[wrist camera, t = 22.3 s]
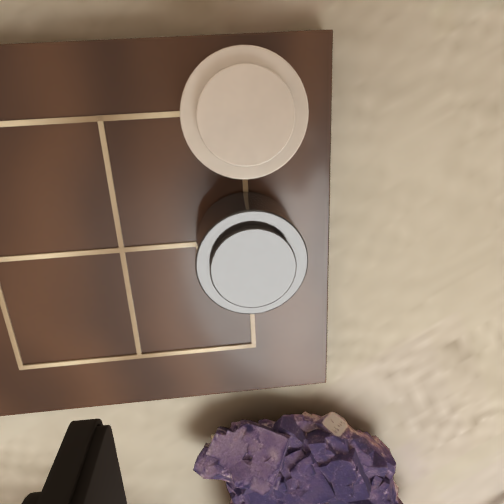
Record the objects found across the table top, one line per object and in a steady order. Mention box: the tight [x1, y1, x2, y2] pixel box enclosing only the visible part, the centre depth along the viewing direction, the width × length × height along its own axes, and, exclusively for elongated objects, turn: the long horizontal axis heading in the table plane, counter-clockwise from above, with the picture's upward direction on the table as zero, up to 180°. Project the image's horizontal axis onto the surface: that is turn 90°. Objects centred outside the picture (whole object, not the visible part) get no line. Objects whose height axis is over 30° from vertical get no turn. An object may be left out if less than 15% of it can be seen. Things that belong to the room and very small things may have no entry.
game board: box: [0, 30, 333, 416], centre depth 22 cm, size 20×18×2 cm
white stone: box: [180, 45, 309, 179], centre depth 18 cm, size 5×5×4 cm
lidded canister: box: [195, 192, 308, 314], centre depth 20 cm, size 5×5×4 cm
